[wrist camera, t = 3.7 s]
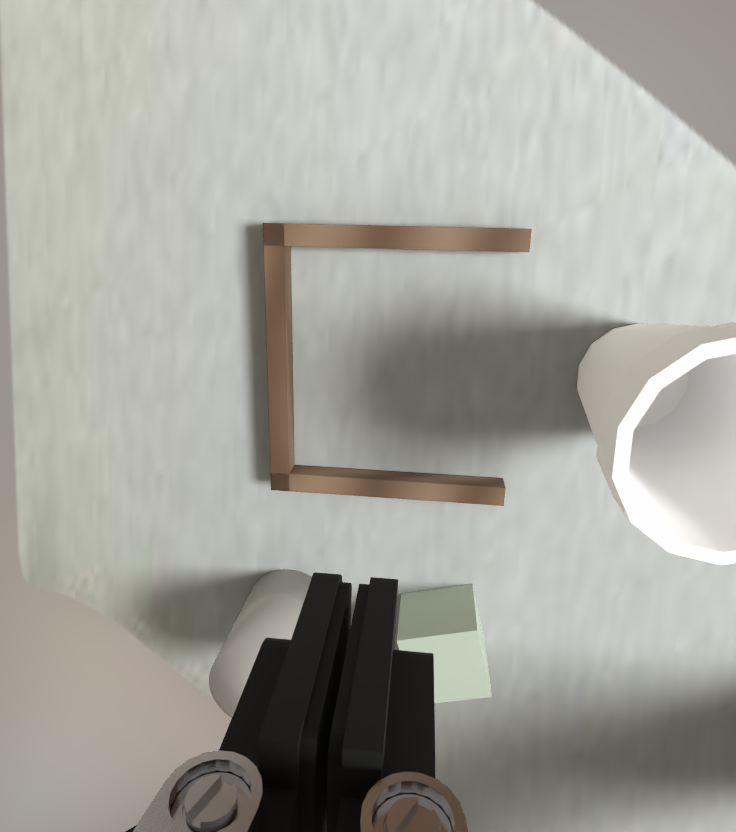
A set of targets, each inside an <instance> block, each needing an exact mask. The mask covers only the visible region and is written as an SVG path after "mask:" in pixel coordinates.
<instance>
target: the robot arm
mask: <svg viewBox="0 0 736 832" xmlns="http://www.w3.org/2000/svg"><path fill="white" fill-rule="evenodd" d="M397 590H398V580H396V579H385V578H373V577H371V579H370V584H369V585H366V584H359V588H358V593H357V599H356V604H355V609H354V614H353V619H352V624H351V591H352V586H351V583H343V582H342V576H341V575H338V574H326V573H313V576H312V579H311V582H310V585H309V588H308V591H307V594H306V597H305V600H304V603H303V606H302V609H301V612H300V615H299V618H298V621H297V624H296V627H295V630H294V633H293V636H292V639H291V640H288V639H277V638H266V639H264V641H263V643H262V645H261V647H260V650H259V652H258V655H257V657H256V660H255V662H254V665H253V667H252V670H251V672H250V675H249V677H248V680H247V682H246V685H245V687H244V690H243V692H242V695H241V697H240V700H239V702H238V705H237V707H236V710H235V712H234V715H233V717H232V720H231V722H230V724H229V727H228V730H227V732H226V735H225V737H224V739H223V742H222V744H221V747H220V749H219V751H213V752H207V753H203V754H201V755H198V756H196V757H194V758H191V759H189V760H188V761H186V762H185V763H183V764H182V765H181V766H179V767H178V768H177V769H175V771H174V772H173V773H172V774H171V775H170V777H169V778H168V779H167V780H166V781H165V783H164V784H163V786H162V787H161V789H160V790H159V792H158V793H157V795H156V797H155V798H154V800H153V801H152V803H151V804H150V806H149V807H148V809H147V810H146V812H145V813H144V815H143V816H142V818H141V820H140V821H139V823H138V824H137V825H136V826H134V827H133V828H131V829H129V830H128V831H126V832H326V831H327V832H468V828H467V823H466V818H465V815H464V813H463V810H462V807H461V805H460V802H459V801H458V799H457V798H456V797H455V795H454V794H453V793H452V791H451V790H450V789H449V788H448V787H446V786H445V785H444V784H442V783H441V782H440V781H439V780H437V779H435V722H434V656H433V653H424V652H413V651H403V650H394V643H395V625H396V608H397ZM350 626H351V629H350Z"/></svg>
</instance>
